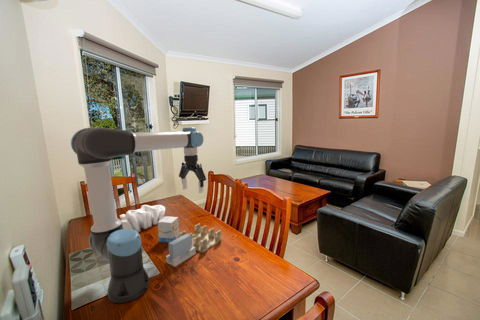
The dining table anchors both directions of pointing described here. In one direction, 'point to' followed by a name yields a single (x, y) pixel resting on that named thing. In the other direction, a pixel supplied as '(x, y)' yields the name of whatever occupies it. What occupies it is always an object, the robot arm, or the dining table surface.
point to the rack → (203, 238)
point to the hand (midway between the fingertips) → (192, 190)
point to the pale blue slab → (180, 246)
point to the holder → (177, 259)
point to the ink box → (168, 229)
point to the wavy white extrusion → (142, 217)
